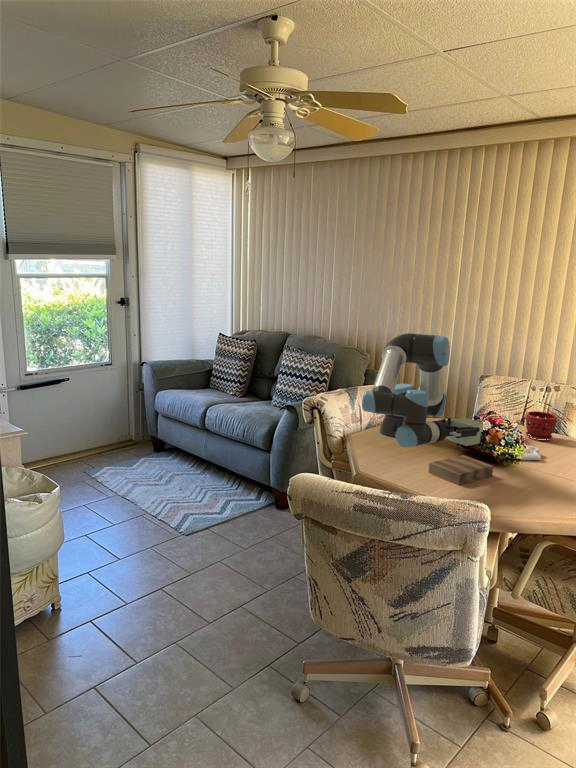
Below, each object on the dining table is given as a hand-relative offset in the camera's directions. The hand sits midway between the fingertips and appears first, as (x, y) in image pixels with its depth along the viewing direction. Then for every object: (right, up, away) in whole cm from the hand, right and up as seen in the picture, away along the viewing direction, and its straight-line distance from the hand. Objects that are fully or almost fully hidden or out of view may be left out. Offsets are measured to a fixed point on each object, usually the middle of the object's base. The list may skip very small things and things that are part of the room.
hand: (472, 424), depth 214 cm
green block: (-3, -6, -1) cm, 7 cm away
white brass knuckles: (+29, -16, +29) cm, 44 cm away
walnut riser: (-4, -19, +2) cm, 19 cm away
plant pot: (+50, -11, +57) cm, 76 cm away
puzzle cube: (+28, -10, +56) cm, 63 cm away
